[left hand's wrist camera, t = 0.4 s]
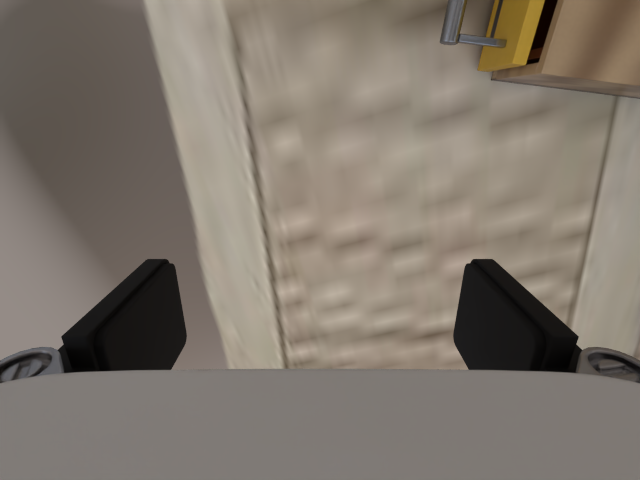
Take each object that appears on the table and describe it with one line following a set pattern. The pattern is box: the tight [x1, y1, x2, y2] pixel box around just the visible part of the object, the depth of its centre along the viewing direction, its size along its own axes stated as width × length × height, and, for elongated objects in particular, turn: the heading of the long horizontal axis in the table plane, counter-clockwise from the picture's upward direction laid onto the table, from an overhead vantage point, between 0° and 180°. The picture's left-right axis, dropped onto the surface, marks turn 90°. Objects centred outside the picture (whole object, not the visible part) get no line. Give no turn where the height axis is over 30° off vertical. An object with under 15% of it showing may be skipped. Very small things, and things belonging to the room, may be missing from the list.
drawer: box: [440, 0, 558, 72], centre depth 30 cm, size 24×10×7 cm, turn 84°
